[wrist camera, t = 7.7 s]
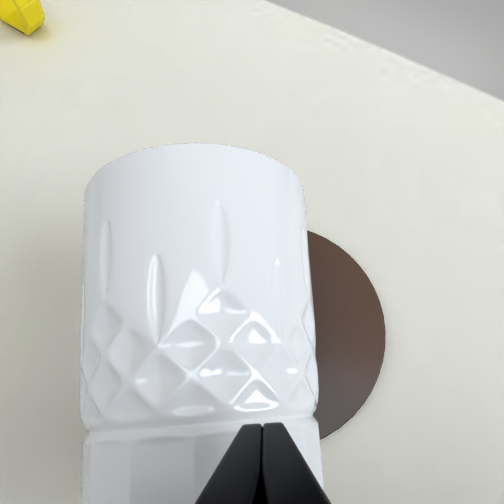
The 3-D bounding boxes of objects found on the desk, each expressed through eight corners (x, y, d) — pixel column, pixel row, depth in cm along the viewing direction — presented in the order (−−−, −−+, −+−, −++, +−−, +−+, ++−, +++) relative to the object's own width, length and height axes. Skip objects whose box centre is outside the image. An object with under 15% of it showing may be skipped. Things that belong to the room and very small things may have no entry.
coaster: (281, 511, 15) (281, 513, 15) (113, 338, 18) (110, 336, 18) (430, 314, 18) (432, 312, 18) (259, 192, 21) (258, 189, 21)
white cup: (231, 486, 17) (220, 258, 21) (403, 503, 12) (348, 190, 16) (18, 529, 12) (52, 221, 16) (146, 590, 7) (153, 103, 11)
